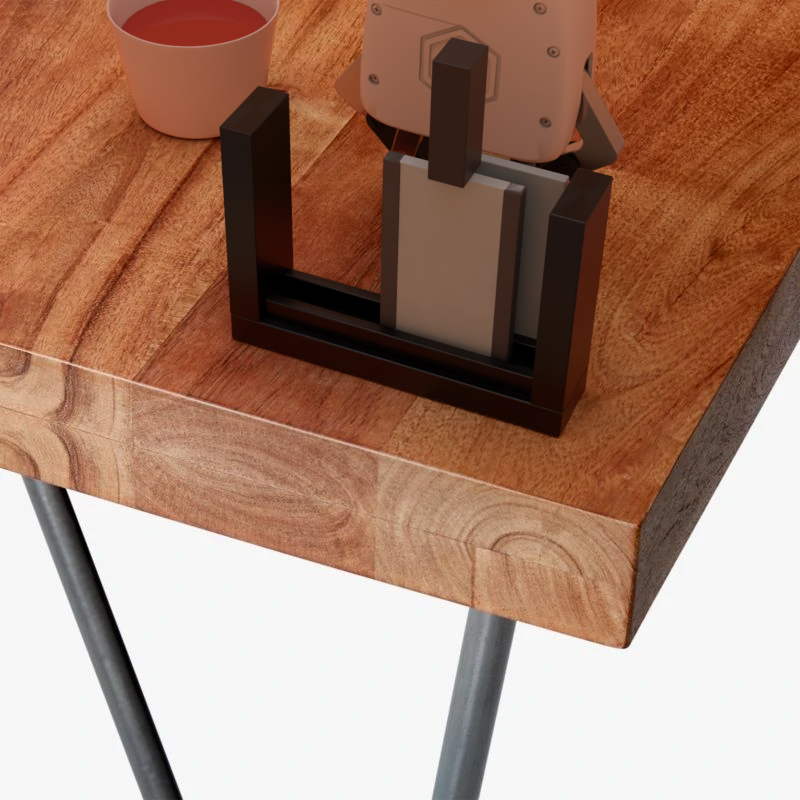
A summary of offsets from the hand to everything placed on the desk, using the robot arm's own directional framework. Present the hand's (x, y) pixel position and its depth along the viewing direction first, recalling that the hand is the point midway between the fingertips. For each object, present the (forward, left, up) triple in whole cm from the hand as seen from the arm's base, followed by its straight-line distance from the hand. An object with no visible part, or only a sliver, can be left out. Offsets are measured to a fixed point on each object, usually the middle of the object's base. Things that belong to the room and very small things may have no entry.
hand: (468, 237), depth 82 cm
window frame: (-1, +10, 0) cm, 10 cm away
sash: (-3, +10, +2) cm, 10 cm away
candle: (+18, -5, 0) cm, 19 cm away
